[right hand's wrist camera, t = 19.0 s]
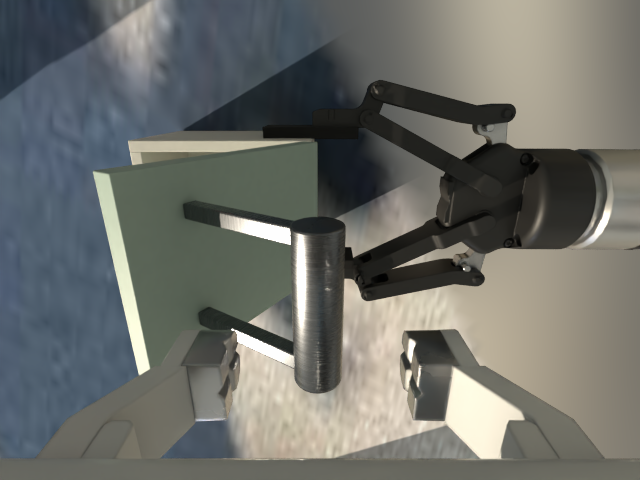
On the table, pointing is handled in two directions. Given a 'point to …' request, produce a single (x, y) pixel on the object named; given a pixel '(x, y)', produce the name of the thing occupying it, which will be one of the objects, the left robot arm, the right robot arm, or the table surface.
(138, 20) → the table surface
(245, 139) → the chest
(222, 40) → the table surface
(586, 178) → the left robot arm
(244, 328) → the lid
